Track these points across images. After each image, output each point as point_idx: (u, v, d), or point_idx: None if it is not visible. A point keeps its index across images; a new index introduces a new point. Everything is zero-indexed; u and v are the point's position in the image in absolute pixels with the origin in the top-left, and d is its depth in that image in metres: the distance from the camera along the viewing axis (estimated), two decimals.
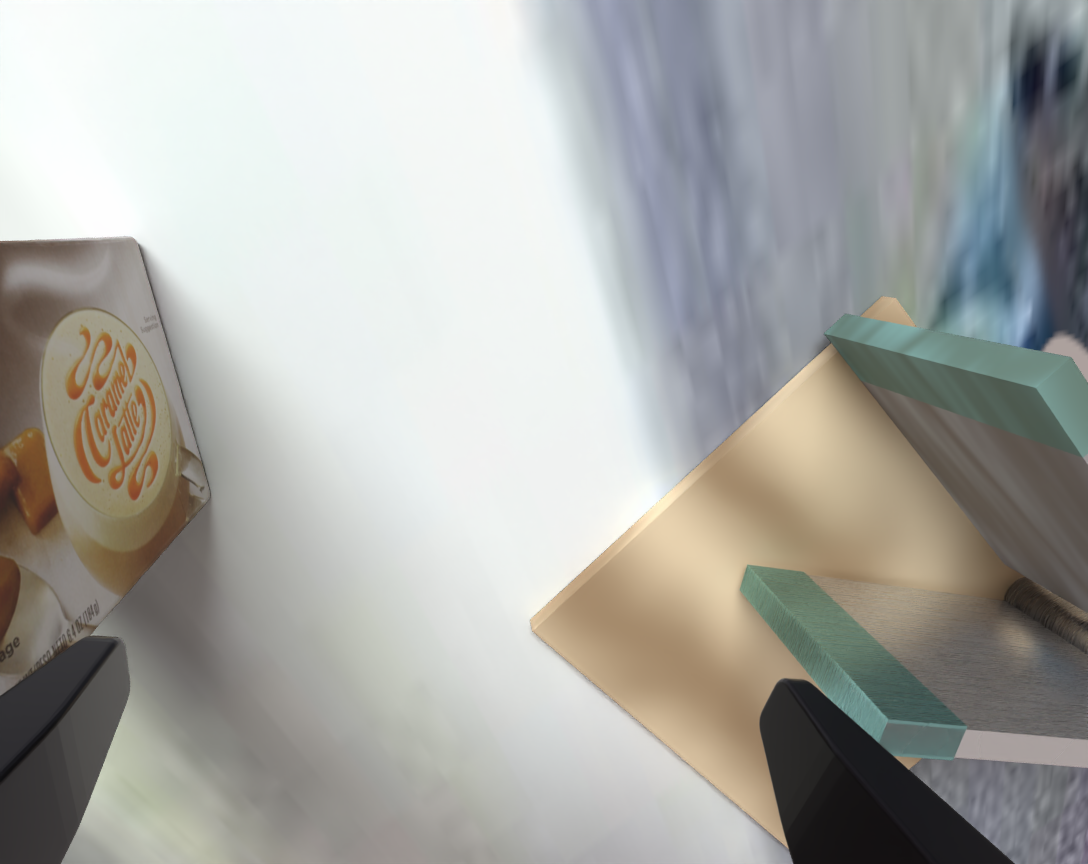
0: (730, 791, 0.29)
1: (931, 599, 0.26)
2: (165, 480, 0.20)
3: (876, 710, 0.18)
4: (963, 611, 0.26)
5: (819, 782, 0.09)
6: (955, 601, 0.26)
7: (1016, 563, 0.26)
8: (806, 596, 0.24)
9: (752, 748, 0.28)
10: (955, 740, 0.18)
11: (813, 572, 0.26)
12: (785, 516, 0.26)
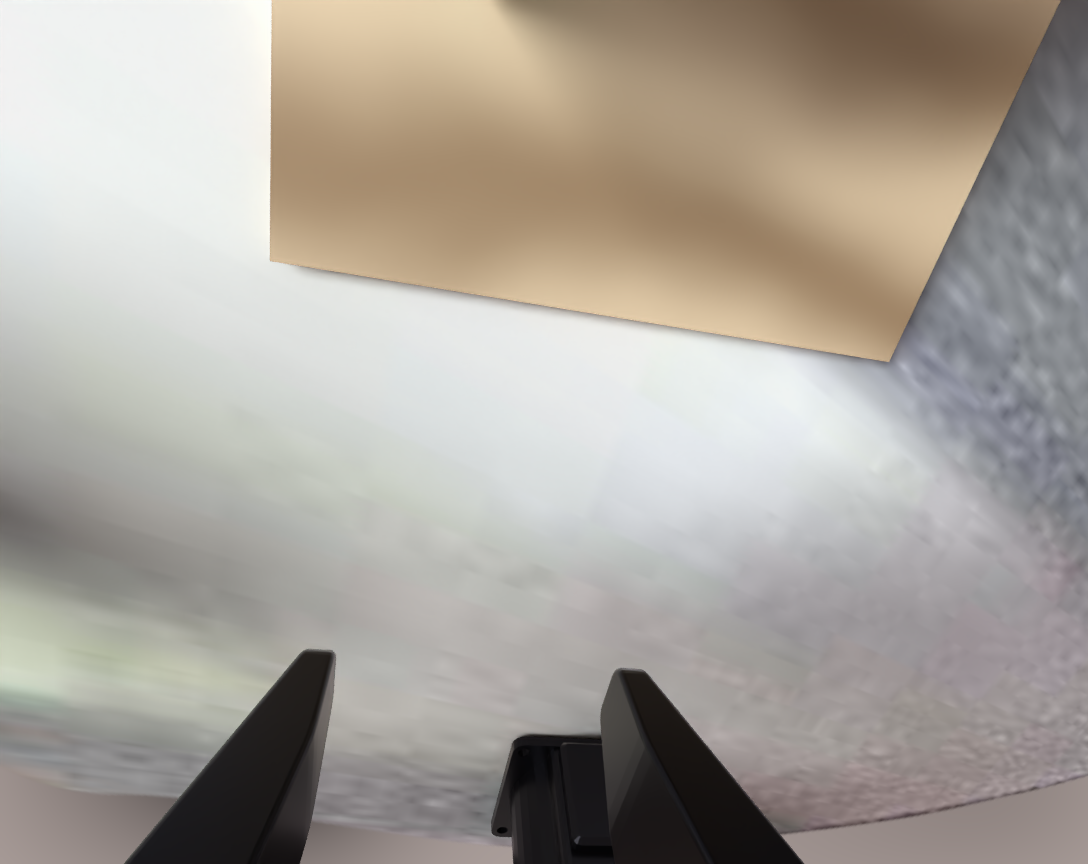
0: (718, 324, 0.19)
1: None
2: None
3: None
4: None
5: (634, 777, 0.08)
6: None
7: None
8: None
9: (707, 246, 0.18)
10: None
11: None
12: None
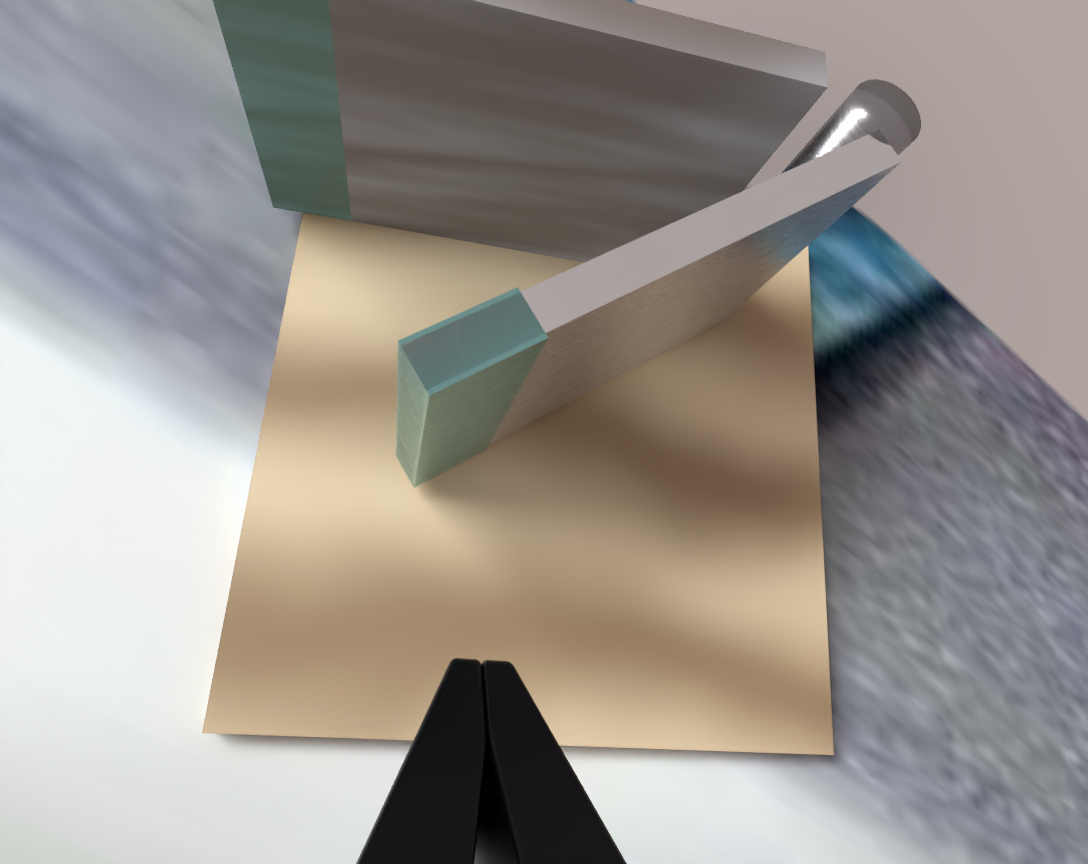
0: (657, 738, 0.19)
1: None
2: None
3: (400, 355, 0.12)
4: None
5: None
6: None
7: None
8: None
9: (626, 661, 0.20)
10: (522, 312, 0.12)
11: None
12: None
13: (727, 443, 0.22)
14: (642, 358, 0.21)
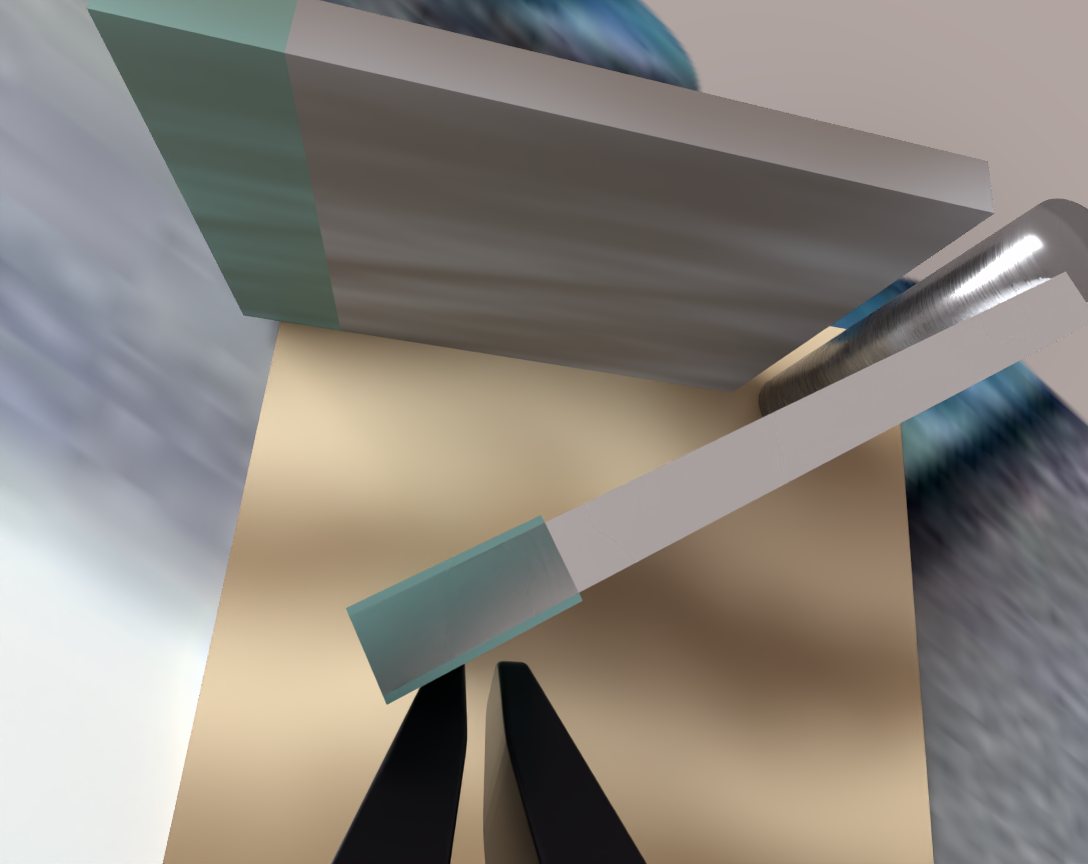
0: None
1: None
2: None
3: None
4: None
5: (498, 772, 0.08)
6: None
7: (720, 373, 0.18)
8: None
9: None
10: (545, 557, 0.08)
11: None
12: (396, 544, 0.16)
13: (803, 607, 0.18)
14: None
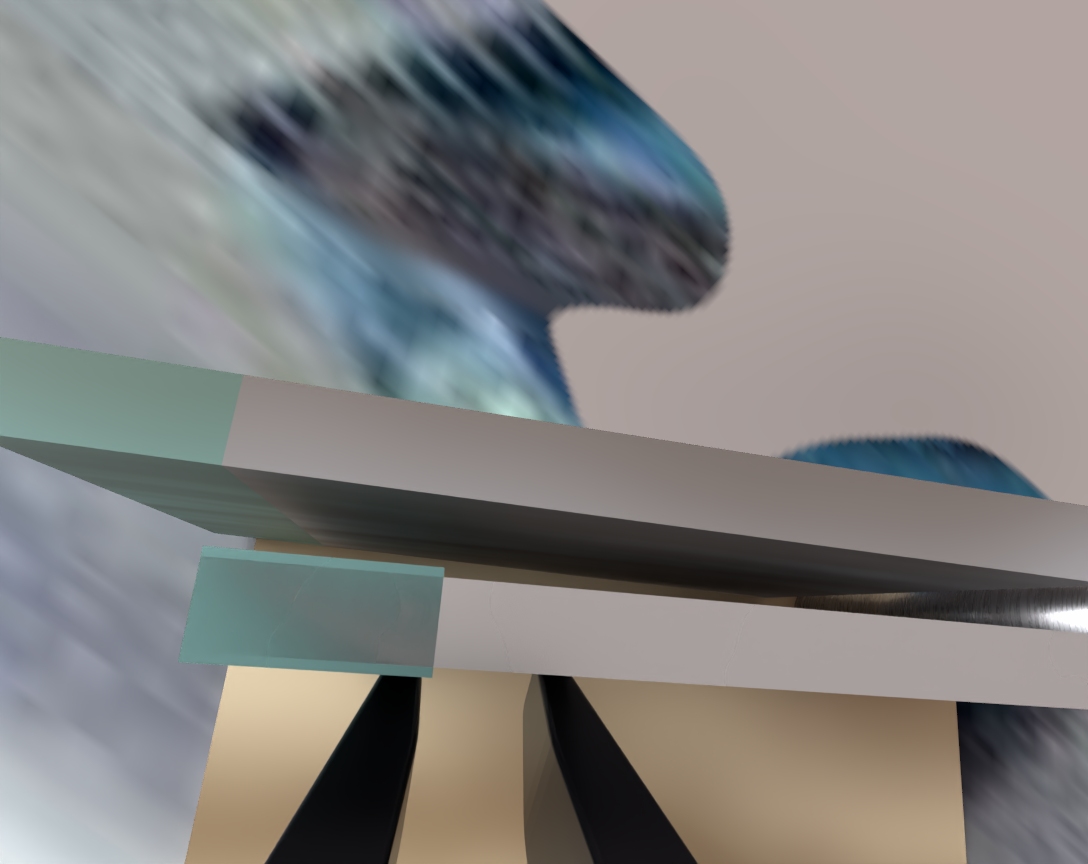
0: None
1: None
2: None
3: None
4: None
5: (542, 774, 0.08)
6: None
7: (751, 592, 0.16)
8: None
9: None
10: (422, 612, 0.07)
11: (506, 848, 0.15)
12: None
13: (842, 858, 0.16)
14: None
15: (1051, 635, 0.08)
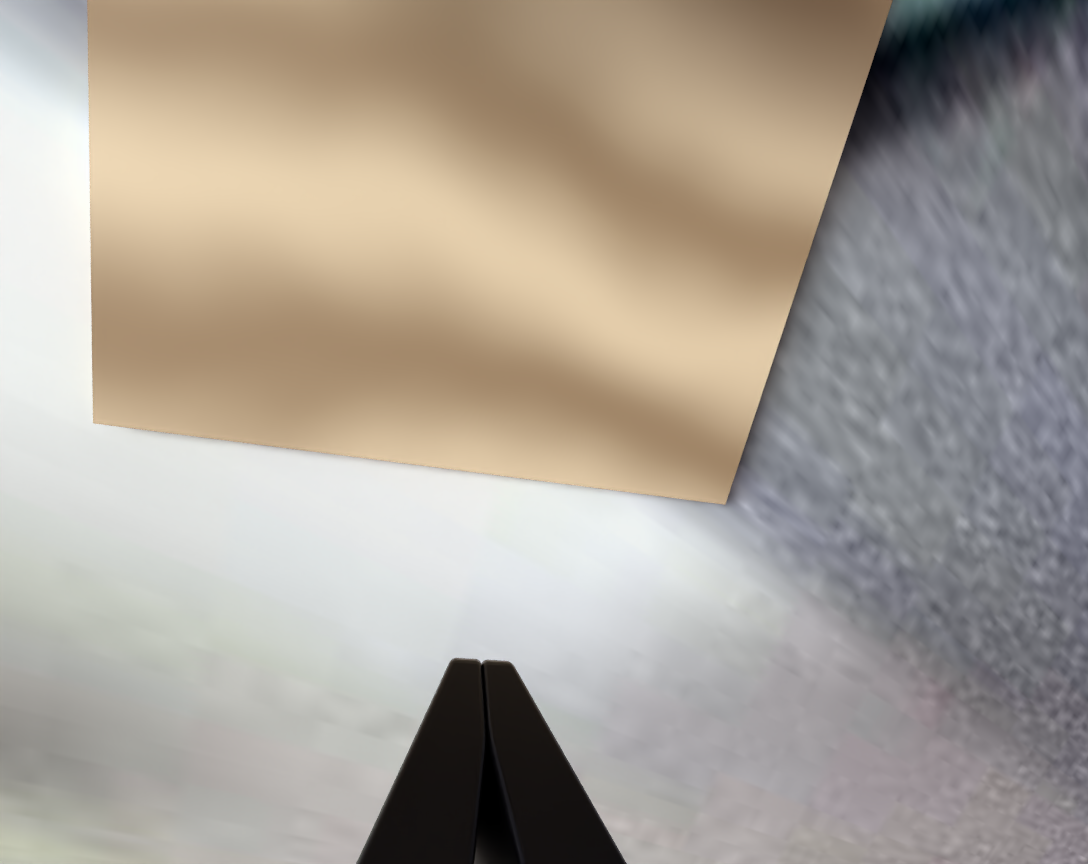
0: (553, 473, 0.20)
1: None
2: None
3: None
4: None
5: None
6: None
7: None
8: None
9: (534, 403, 0.19)
10: None
11: (396, 93, 0.16)
12: (273, 29, 0.15)
13: (713, 166, 0.17)
14: None
15: None
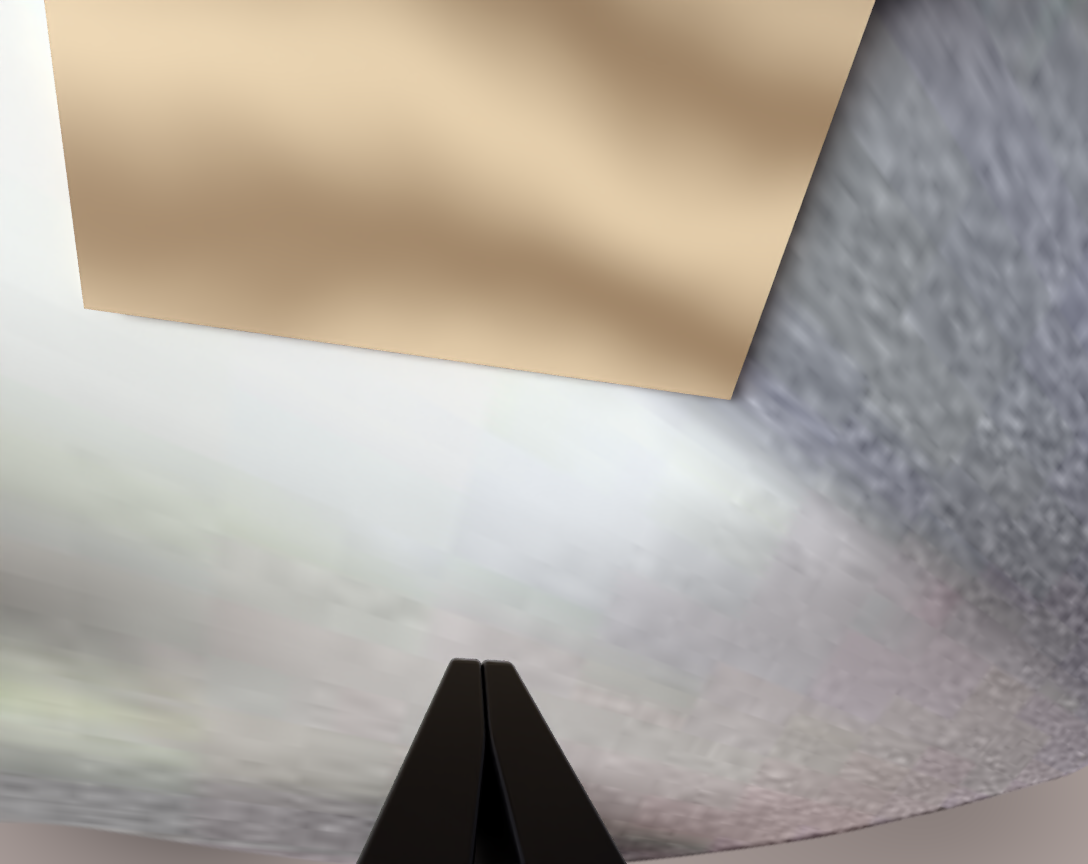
0: (550, 365, 0.19)
1: None
2: None
3: None
4: None
5: None
6: None
7: None
8: None
9: (529, 290, 0.18)
10: None
11: None
12: None
13: (726, 18, 0.15)
14: None
15: None
